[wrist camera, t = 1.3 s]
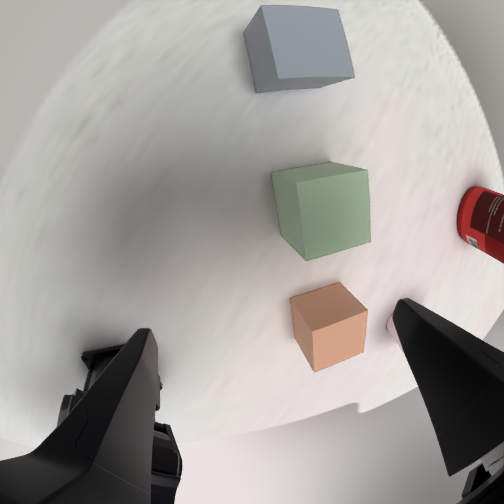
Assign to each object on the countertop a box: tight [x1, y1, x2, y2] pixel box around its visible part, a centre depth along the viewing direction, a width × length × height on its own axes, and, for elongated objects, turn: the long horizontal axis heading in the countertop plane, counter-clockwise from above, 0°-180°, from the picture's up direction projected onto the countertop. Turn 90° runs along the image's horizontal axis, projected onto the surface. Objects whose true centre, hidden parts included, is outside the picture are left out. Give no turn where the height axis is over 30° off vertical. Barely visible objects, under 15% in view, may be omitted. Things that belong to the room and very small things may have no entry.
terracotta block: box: [290, 282, 368, 372], centre depth 23 cm, size 5×5×5 cm
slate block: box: [243, 5, 355, 93], centre depth 14 cm, size 5×5×5 cm
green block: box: [271, 162, 371, 261], centre depth 19 cm, size 5×5×5 cm
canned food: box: [458, 187, 504, 263], centre depth 22 cm, size 8×8×11 cm
